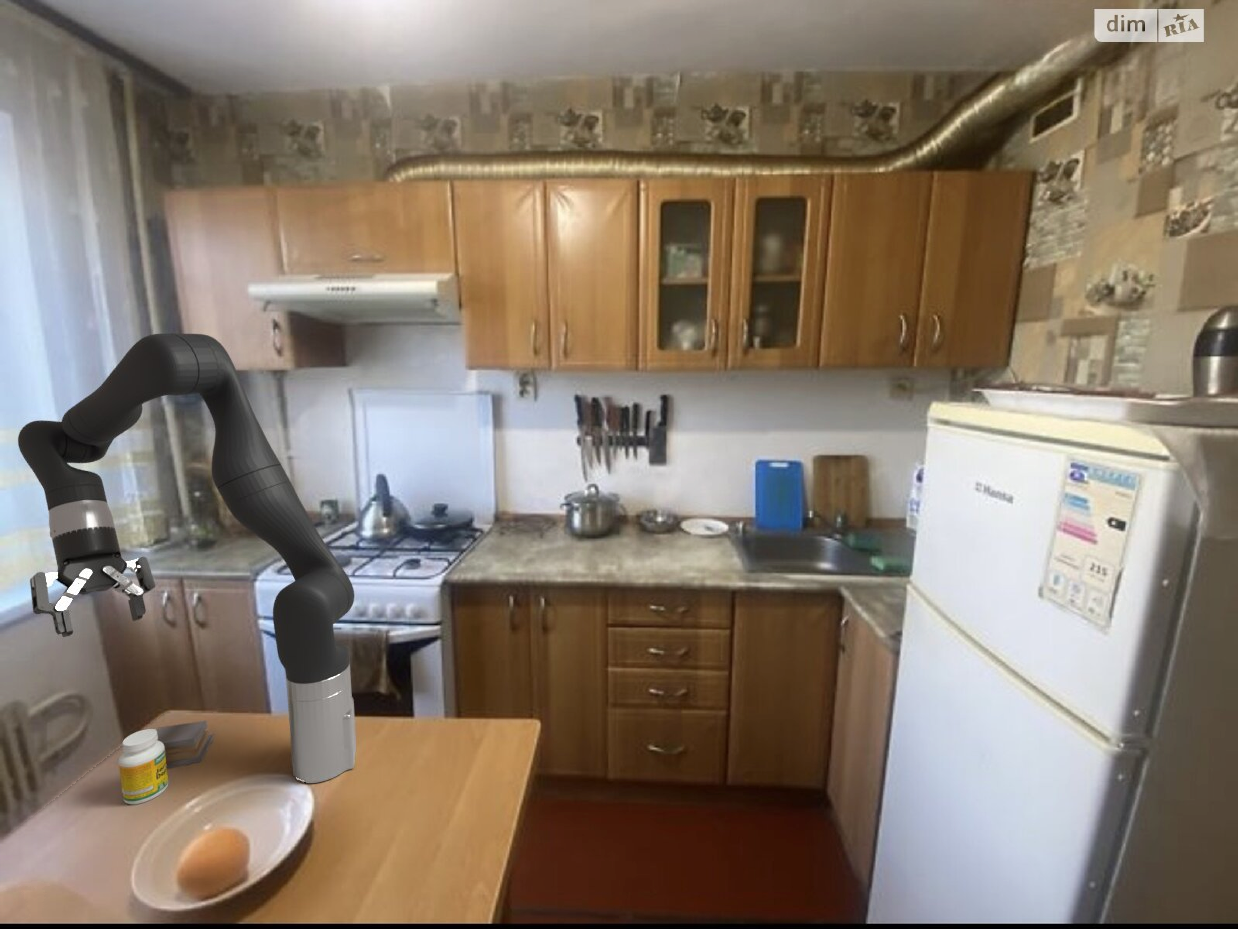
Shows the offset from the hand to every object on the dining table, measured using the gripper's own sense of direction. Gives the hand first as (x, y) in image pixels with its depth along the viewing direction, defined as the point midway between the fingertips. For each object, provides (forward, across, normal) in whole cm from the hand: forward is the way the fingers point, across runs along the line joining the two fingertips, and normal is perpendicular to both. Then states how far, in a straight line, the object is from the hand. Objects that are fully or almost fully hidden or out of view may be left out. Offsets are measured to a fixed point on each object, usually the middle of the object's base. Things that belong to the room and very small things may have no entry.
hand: (104, 627), depth 86 cm
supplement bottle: (+27, +1, +1) cm, 27 cm away
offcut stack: (+24, +7, +6) cm, 26 cm away
